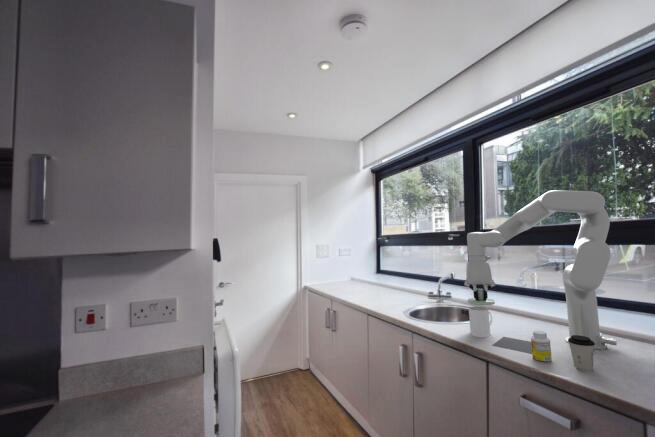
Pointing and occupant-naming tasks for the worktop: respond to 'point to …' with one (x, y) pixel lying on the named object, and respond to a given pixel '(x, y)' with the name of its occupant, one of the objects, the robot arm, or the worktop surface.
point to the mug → (480, 321)
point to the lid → (481, 299)
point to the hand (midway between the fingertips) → (480, 299)
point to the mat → (514, 344)
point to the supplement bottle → (541, 347)
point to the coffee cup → (582, 352)
